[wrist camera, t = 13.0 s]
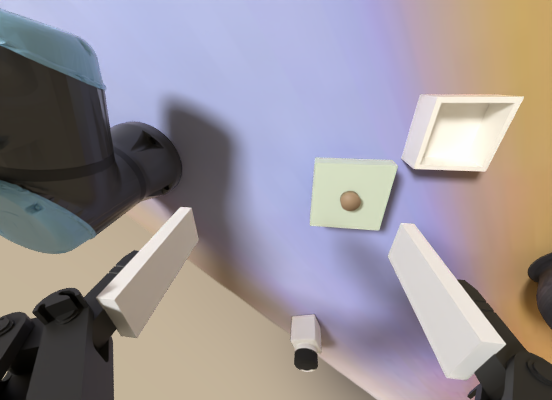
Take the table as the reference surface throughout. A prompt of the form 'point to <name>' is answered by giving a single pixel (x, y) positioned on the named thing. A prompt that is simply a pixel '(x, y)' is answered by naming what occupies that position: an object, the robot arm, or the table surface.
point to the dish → (458, 130)
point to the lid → (351, 192)
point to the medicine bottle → (306, 341)
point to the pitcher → (543, 285)
